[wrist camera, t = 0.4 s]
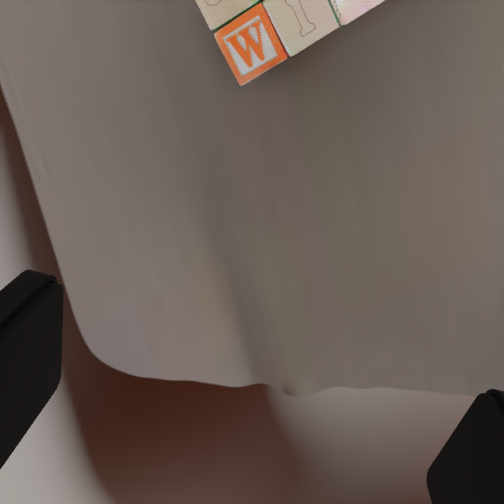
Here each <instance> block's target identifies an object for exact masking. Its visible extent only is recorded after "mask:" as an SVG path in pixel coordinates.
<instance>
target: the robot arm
mask: <svg viewBox="0 0 504 504" xmlns="http://www.w3.org/2000/svg"><path fill="white" fill-rule="evenodd" d="M63 292H64V291H63V286H62V285H60V284H57V280H56V277H54V276H52V275H48V274H44V273H40V272H36V271H33V270H25V271H24V272H22V273H21V274H20V275H19V276H17V277H16V278H15V279H14V280H13V281H11V282H10V283H9V284H8V285H7V286H5V287H4V288H3V289H2V290H1V291H0V469H1V468H2V466H3V465H4V464H5V462H6V461H7V459H8V458H9V456H10V455H11V454H12V452H13V451H14V449H15V448H16V446H17V445H18V444H19V442H20V441H21V439H22V438H23V436H24V435H25V434H26V432H27V431H28V429H29V428H30V426H31V425H32V424H33V422H34V420H35V419H36V418H37V416H38V415H39V414H40V412H41V411H42V409H43V408H44V406H45V405H46V403H47V402H48V401H49V399H50V398H51V396H52V395H53V393H54V392H55V390H56V389H57V386H58V384H59V382H60V378H61V363H62V362H61V361H62V360H61V359H62V328H63V327H62V326H63ZM427 487H428V490H429V494H430V498H431V501H432V504H504V391H500V390H496V389H490V390H488V391H487V392H486V393H485V394H484V393H481V394H479V395H478V396H477V397H476V399H475V400H474V402H473V403H472V405H471V406H470V408H469V409H468V411H467V412H466V414H465V415H464V417H463V418H462V420H461V421H460V423H459V424H458V426H457V427H456V429H455V430H454V432H453V433H452V435H451V436H450V438H449V439H448V441H447V442H446V444H445V445H444V447H443V448H442V450H441V451H440V453H439V454H438V456H437V457H436V459H435V460H434V462H433V463H432V465H431V466H430V468H429V470H428V473H427Z"/></svg>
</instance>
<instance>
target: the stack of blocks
mask: <svg viewBox="0 0 504 504" xmlns="http://www.w3.org/2000/svg"><path fill="white" fill-rule="evenodd" d="M384 1H385V0H196V2H197V4H198V6H199V8H200V10H201V12H202V14H203V16H204V18H205V20H206V22H207V24H208V26H209V28H210V30H212V31H214V36H215V39H216V41H217V43H218V45H219V47H220V49H221V51H222V53H223V54H224V56H225V58H226V60H227V62H228V64H229V66H230V68H231V70H232V72H233V74H234V75H235V77H236V79H237V81H238V83H239V84H240V86H243V85H244V84H246V83H248V82H249V81H251V80H253V79H254V78H256V77H258V76H259V75H261V74H262V73H264V72H266V71H267V70H269V69H271V68H272V67H274V66H276V65H277V64H279V63H281V62H283V61H284V60H285V59H287V58H288V57H292V56H294V55H295V54H297V53H299V52H300V51H302V50H303V49H305V48H307V47H308V46H310V45H311V44H313V43H314V42H316V41H318V40H319V39H321V38H322V37H324V36H326V35H327V34H329V33H330V32H332V31H333V30H335V29H338V28H340V27H341V26H345V25H347V24H349V23H350V22H352V21H354V20H355V19H357V18H358V17H360V16H361V15H363V14H364V13H366V12H368V11H369V10H371V9H373V8H374V7H376V6H377V5H379V4H381V3H382V2H384Z"/></svg>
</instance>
